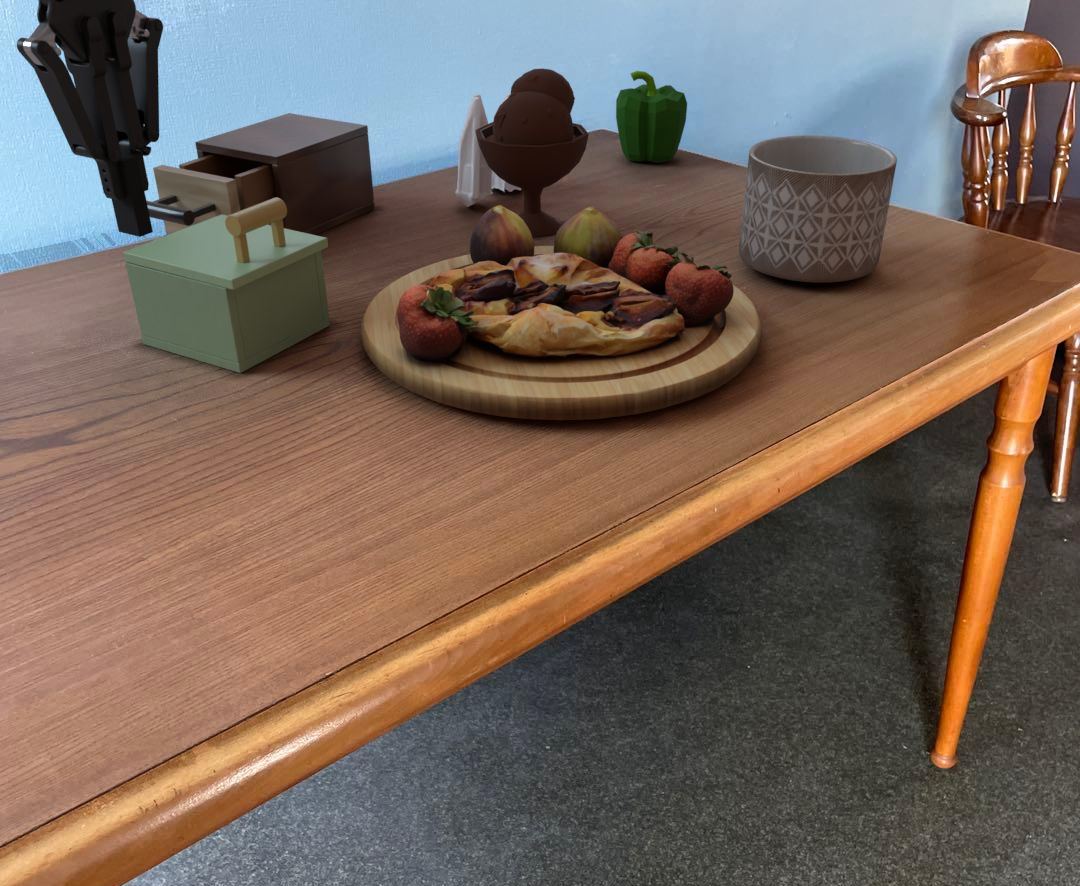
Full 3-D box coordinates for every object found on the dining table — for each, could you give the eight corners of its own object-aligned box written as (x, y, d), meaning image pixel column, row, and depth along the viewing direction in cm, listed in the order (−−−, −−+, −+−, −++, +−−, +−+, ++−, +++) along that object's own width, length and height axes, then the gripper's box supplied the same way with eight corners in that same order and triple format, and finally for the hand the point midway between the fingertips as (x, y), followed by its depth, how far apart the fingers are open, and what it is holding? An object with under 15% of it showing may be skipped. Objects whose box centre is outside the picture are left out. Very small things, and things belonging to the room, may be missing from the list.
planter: (905, 279, 99) (928, 162, 93) (792, 303, 94) (809, 182, 88) (818, 237, 108) (833, 129, 102) (711, 257, 104) (721, 145, 98)
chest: (330, 325, 91) (320, 245, 87) (240, 373, 83) (225, 288, 79) (236, 300, 95) (223, 223, 91) (143, 344, 88) (124, 262, 84)
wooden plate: (448, 470, 71) (441, 354, 67) (315, 301, 95) (303, 207, 90) (842, 376, 82) (860, 271, 78) (635, 246, 106) (639, 160, 102)
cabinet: (289, 246, 107) (276, 156, 102) (210, 228, 111) (194, 141, 106) (375, 208, 116) (367, 125, 111) (299, 193, 121) (289, 112, 116)
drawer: (205, 269, 99) (191, 194, 95) (133, 251, 103) (117, 178, 99) (325, 218, 111) (317, 150, 107) (256, 204, 115) (246, 137, 111)
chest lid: (328, 247, 87) (322, 191, 84) (233, 290, 79) (223, 230, 77) (223, 223, 91) (214, 170, 89) (124, 261, 84) (111, 205, 81)
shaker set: (478, 217, 114) (474, 106, 108) (444, 211, 116) (438, 101, 109) (533, 186, 123) (532, 82, 116) (501, 181, 124) (498, 78, 118)
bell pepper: (687, 151, 134) (694, 65, 129) (679, 170, 128) (685, 79, 122) (620, 147, 136) (623, 61, 130) (608, 165, 130) (611, 76, 124)
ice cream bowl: (487, 209, 116) (483, 58, 108) (591, 213, 115) (595, 61, 106) (468, 242, 107) (462, 81, 99) (581, 247, 106) (584, 84, 98)
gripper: (104, -80, 90) (161, 205, 103) (-37, -66, 81) (46, 246, 94) (169, -76, 87) (219, 218, 100) (30, -60, 77) (106, 261, 91)
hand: (135, 231), depth 97 cm, fingers closed
